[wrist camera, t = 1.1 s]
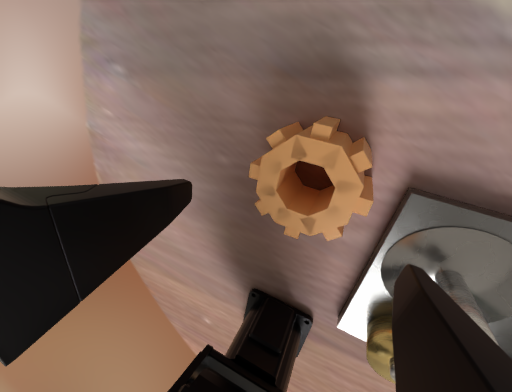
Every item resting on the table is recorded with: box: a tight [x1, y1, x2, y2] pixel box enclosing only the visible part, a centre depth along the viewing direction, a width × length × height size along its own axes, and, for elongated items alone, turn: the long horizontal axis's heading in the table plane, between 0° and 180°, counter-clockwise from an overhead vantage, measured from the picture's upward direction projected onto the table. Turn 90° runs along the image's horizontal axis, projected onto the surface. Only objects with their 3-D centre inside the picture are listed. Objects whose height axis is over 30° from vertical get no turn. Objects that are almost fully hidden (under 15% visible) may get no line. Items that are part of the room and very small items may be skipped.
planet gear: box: [249, 116, 373, 241], centre depth 14 cm, size 7×7×4 cm
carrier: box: [337, 187, 512, 384], centre depth 12 cm, size 13×12×6 cm
